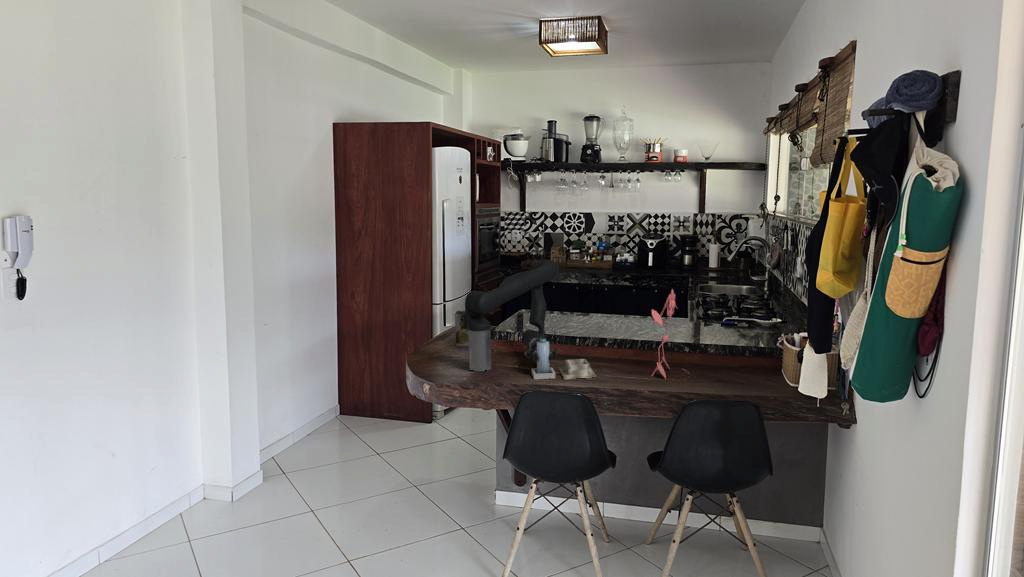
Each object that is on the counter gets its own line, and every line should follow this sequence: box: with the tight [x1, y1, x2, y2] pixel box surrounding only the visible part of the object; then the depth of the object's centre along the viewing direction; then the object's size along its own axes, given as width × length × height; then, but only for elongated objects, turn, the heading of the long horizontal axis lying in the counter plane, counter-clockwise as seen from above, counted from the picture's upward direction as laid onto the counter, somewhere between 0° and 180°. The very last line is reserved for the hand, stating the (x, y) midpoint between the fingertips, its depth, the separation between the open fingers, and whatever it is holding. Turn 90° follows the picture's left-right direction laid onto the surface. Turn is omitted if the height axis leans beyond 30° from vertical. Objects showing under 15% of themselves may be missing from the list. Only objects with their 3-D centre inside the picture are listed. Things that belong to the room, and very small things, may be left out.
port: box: [558, 358, 597, 380], centre depth 290 cm, size 13×13×5 cm
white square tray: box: [531, 367, 556, 380], centre depth 289 cm, size 9×9×2 cm
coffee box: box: [454, 310, 469, 347], centre depth 341 cm, size 9×6×16 cm
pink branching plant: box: [646, 288, 690, 381], centre depth 284 cm, size 15×26×35 cm, turn 157°
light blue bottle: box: [536, 338, 550, 374], centre depth 288 cm, size 5×5×15 cm
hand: (544, 358), depth 286 cm, fingers closed on light blue bottle, 5 cm apart
